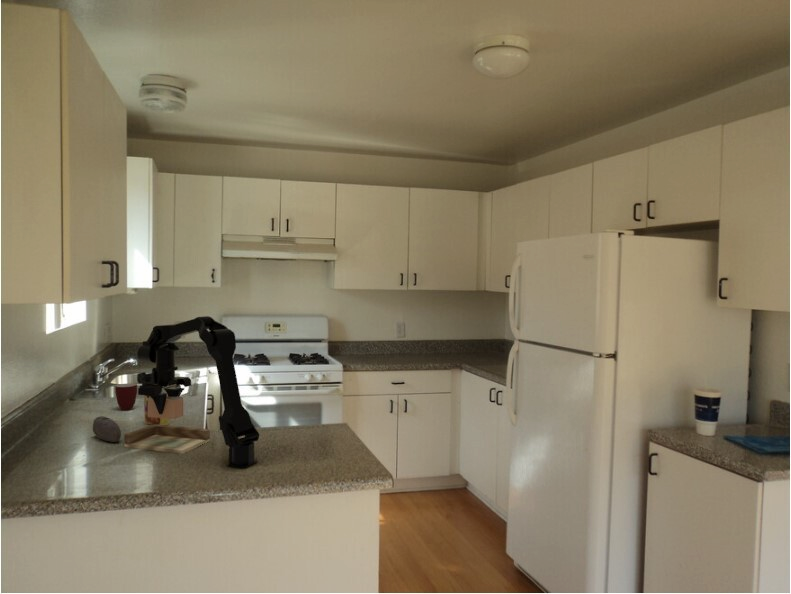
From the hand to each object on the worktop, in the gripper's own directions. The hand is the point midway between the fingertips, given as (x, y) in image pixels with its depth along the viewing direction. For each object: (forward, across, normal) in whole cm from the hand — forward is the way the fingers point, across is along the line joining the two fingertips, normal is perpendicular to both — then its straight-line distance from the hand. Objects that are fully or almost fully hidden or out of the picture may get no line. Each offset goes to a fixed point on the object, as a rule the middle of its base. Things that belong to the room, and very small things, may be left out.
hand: (165, 412), depth 191 cm
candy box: (+11, -22, -22) cm, 33 cm away
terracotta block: (+1, 0, 0) cm, 1 cm away
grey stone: (+11, 0, -23) cm, 26 cm away
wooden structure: (+11, -2, -1) cm, 11 cm away
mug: (+11, -38, -51) cm, 65 cm away
